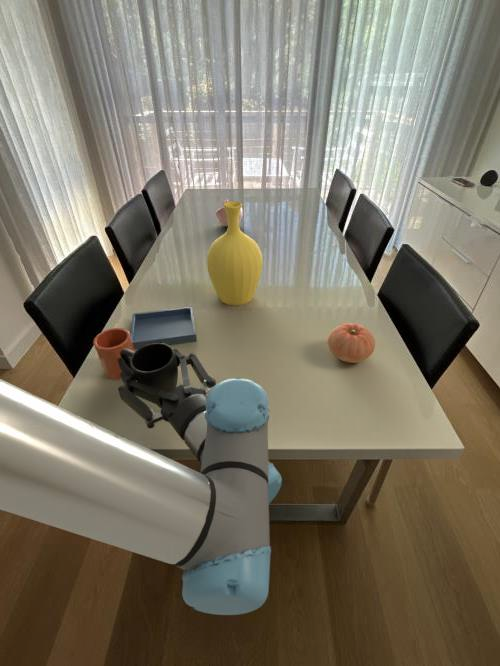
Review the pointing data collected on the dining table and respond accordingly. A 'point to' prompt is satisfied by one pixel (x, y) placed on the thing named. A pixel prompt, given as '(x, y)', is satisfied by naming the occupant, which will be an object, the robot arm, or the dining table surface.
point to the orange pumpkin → (351, 342)
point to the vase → (234, 261)
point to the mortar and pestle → (225, 215)
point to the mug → (153, 365)
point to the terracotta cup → (112, 350)
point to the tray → (163, 327)
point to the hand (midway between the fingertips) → (141, 354)
